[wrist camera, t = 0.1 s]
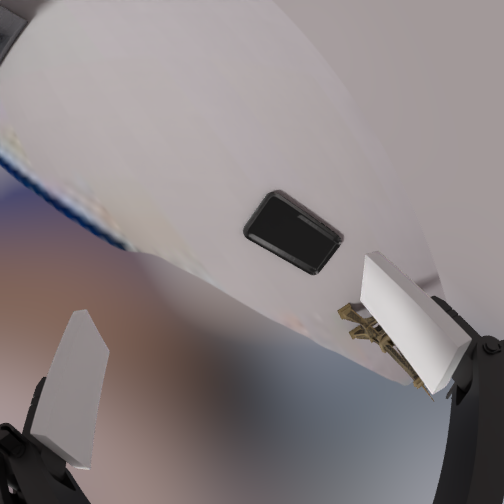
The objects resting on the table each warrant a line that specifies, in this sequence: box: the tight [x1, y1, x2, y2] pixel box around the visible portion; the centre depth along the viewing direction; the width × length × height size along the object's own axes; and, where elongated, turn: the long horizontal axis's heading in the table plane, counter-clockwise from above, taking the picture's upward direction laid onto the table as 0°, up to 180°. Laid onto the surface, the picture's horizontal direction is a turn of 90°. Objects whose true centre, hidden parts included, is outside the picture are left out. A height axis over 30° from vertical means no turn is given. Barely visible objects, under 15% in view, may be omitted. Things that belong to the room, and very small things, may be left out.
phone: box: [243, 192, 341, 275], centre depth 43 cm, size 8×1×15 cm
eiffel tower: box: [338, 303, 434, 401], centre depth 43 cm, size 11×11×25 cm
